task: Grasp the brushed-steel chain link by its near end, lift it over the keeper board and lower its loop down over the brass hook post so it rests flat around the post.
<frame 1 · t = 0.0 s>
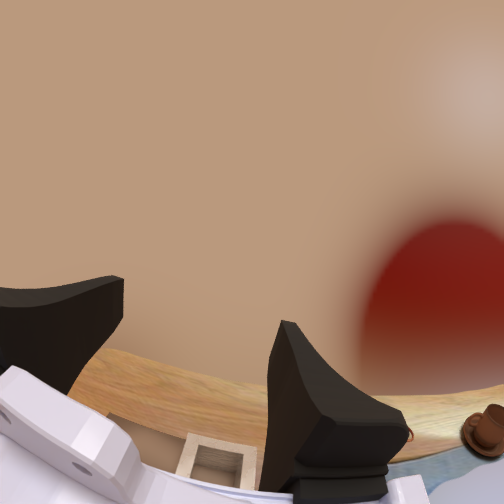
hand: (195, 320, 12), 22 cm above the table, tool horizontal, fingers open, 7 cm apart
keeper board: (159, 497, 17), on the table
cup and saucer: (481, 442, 25), on the table
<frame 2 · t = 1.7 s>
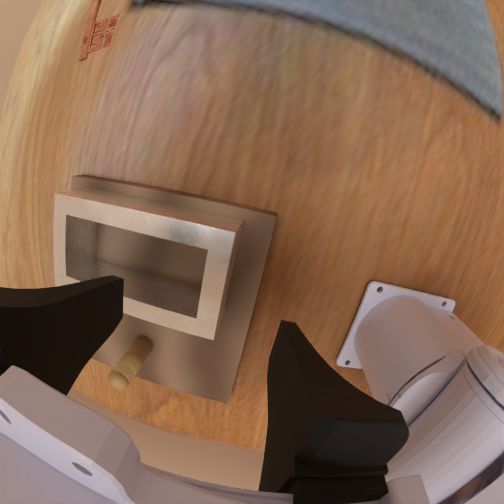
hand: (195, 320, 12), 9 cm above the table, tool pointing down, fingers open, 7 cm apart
keeper board: (153, 294, 21), on the table
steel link: (151, 246, 19), point 1 cm above the table, touching keeper board
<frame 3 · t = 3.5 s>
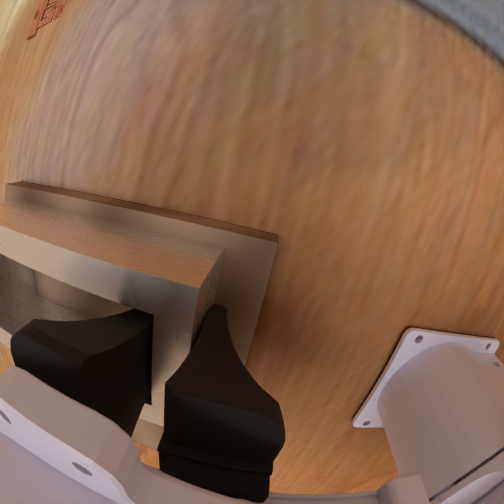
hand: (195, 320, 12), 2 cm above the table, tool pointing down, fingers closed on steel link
keeper board: (111, 340, 15), on the table
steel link: (95, 283, 12), point 1 cm above the table, touching gripper, keeper board
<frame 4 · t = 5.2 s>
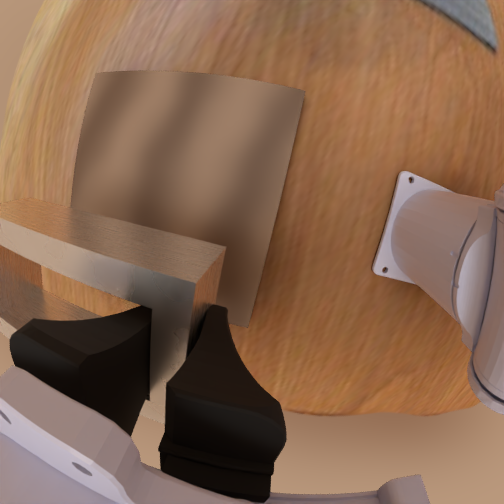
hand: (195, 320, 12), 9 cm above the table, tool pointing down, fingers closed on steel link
keeper board: (167, 188, 19), on the table
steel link: (99, 280, 12), point 8 cm above the table, touching gripper
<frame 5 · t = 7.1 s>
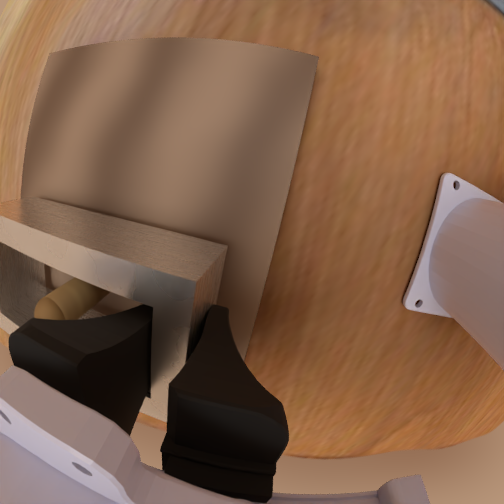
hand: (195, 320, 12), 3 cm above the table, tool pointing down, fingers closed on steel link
keeper board: (129, 196, 14), on the table
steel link: (102, 279, 12), point 2 cm above the table, touching gripper
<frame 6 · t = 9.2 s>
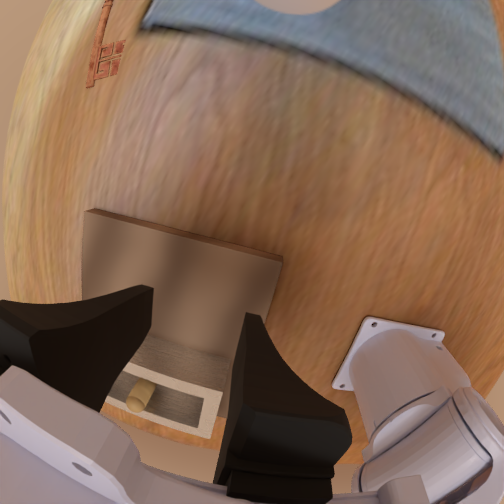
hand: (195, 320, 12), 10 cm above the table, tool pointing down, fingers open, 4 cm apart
key: (114, 20, 16), on the table
keeper board: (165, 323, 23), on the table
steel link: (159, 366, 23), point 1 cm above the table, touching keeper board
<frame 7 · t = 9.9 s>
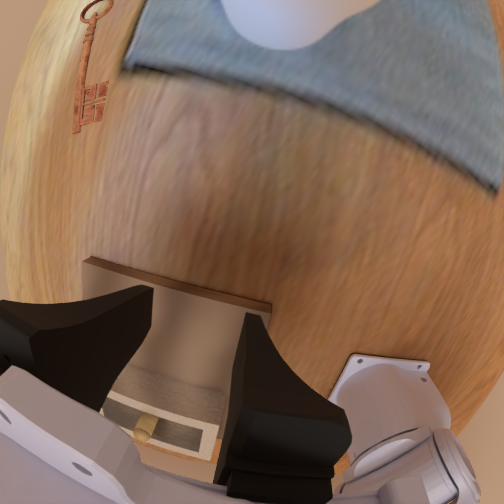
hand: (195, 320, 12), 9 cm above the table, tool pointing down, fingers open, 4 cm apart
key: (96, 56, 17), on the table
keeper board: (165, 360, 24), on the table
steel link: (161, 397, 23), point 1 cm above the table, touching keeper board
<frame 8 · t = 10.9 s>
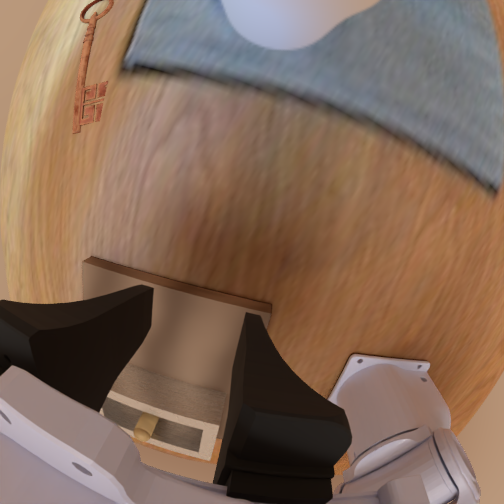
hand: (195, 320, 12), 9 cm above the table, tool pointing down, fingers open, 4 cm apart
key: (96, 56, 17), on the table
keeper board: (165, 360, 24), on the table
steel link: (161, 397, 23), point 1 cm above the table, touching keeper board
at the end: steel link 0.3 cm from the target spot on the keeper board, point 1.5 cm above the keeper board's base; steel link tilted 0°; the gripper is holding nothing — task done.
